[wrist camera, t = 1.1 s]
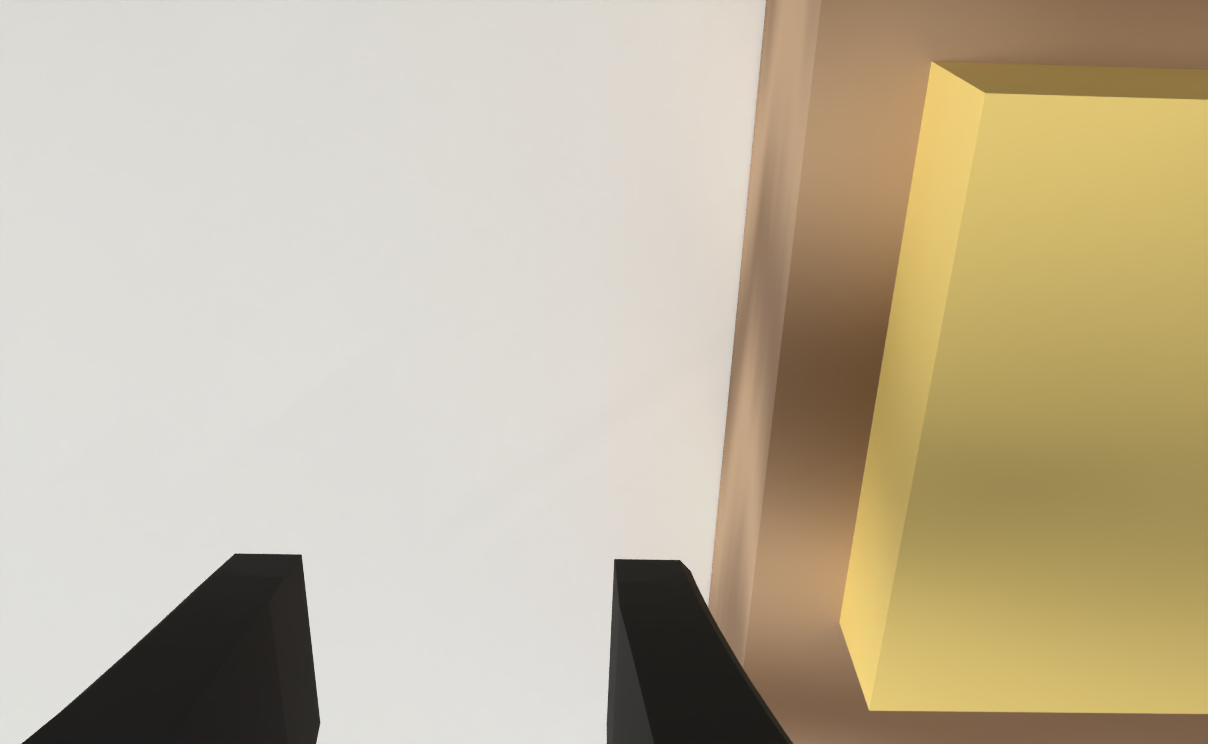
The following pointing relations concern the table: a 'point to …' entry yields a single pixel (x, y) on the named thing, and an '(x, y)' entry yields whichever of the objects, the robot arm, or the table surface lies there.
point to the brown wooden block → (865, 331)
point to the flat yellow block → (1043, 403)
